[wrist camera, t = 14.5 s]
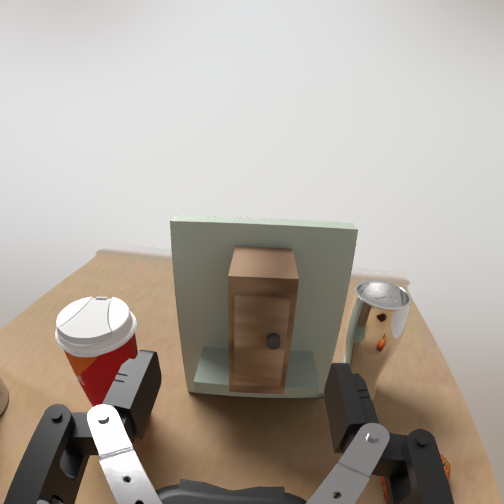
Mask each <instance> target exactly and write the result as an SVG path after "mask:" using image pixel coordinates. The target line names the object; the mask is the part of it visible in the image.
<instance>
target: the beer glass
mask: <svg viewBox="0 0 504 504" xmlns="http://www.w3.org/2000/svg"><path fill="white" fill-rule="evenodd" d="M411 301H412V298H411V296H410V294H409V293H408V292H407V291H406V290H405V289H404V288H402V287H400V286H399V285H396V284H394V283H391V282H387V281H383V280H365V281H361V282H359V283H358V284H357V285H356V286H355V288H354V293H353V296H352V299H351V302H350V306H349V309H348V313H347V317H346V321H345V326H344V333H343V347H342V363H348V364H349V366H350V369H351V372H352V374H353V373H359V375H360V376H361V377H362V378H363V379H364V380H365V382H366V385H367V388H368V391H369V394H370V398H371V400H373V399H374V397H375V394H376V387H377V383H378V380H379V378H380V376H381V374H382V372H383V370H384V369H385V367H386V366H387V364H388V363H389V361H390V359H391V358H392V356H393V355H394V353H395V351H396V349H397V347H398V345H399V343H400V341H401V338H402V335H403V333H404V329H405V326H406V322H407V318H408V314H409V309H410V304H411Z"/></svg>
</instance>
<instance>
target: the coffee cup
mask: <svg viewBox="0 0 504 504" xmlns="http://www.w3.org/2000/svg"><path fill="white" fill-rule="evenodd" d="M136 327H137V321H136V318H135V316H134V315H133V314H132V312H131V311H130V310H129V308H128V306H127V305H126V304H125V303H124V302H123V301H122V300H120V299H118V298H115V297H112V299H108V297H96V299H94V298H93V297H87V298H83V299H80V300H77V301H75V302H73V303H71V304H69V305H68V306H66V307H65V308H64V309H63V310H62V311H61V312H60V313H59V315H58V317H57V320H56V332H55V338H56V341H57V343H58V345H59V346H60V347H61V348H62V349H63V350H64V352H65V354H66V356H67V358H68V360H69V362H70V364H71V366H72V368H73V370H74V373H75V375H76V376H77V378H78V380H79V382H80V384H81V386H82V388H83V390H84V392H85V394H86V395H87V397H88V399H89V401H90V402H91V404H92V406H93V408H94V407H96V406H98V405H102V403H103V401H104V399H105V397H106V395H107V393H108V391H109V389H110V387H111V385H112V383H113V381H114V380H115V377H116V375H118V371H119V369H120V368H121V366H122V364H124V363H125V362H126V361H127V360H128V359H129V358H130V359H136V357H137V355H138V351H137V345H136V338H135V330H136ZM149 420H150V418H149ZM149 420H148V423H149ZM148 423H147V425H148ZM146 427H147V426H146Z"/></svg>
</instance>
